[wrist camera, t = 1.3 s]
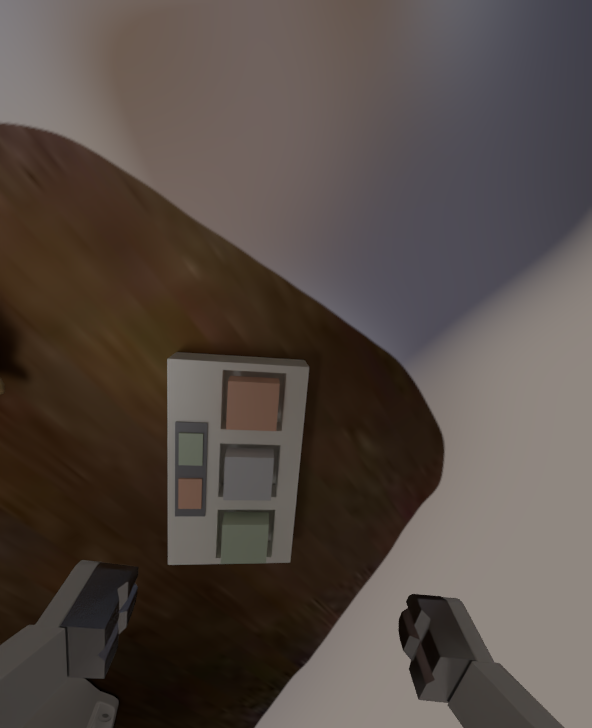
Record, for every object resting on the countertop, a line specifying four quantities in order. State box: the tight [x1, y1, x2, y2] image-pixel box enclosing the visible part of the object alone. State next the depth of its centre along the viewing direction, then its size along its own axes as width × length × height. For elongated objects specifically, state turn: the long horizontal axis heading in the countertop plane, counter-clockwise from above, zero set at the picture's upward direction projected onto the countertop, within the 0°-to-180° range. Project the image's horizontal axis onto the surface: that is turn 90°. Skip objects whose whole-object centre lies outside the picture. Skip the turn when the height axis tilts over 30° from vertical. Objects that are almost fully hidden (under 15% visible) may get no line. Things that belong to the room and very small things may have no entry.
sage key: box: [221, 512, 269, 564], centre depth 35 cm, size 5×5×2 cm
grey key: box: [223, 447, 274, 501], centre depth 33 cm, size 5×5×2 cm
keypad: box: [167, 352, 309, 565], centre depth 35 cm, size 24×14×4 cm, turn 175°
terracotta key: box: [226, 376, 280, 431], centre depth 32 cm, size 5×5×2 cm
